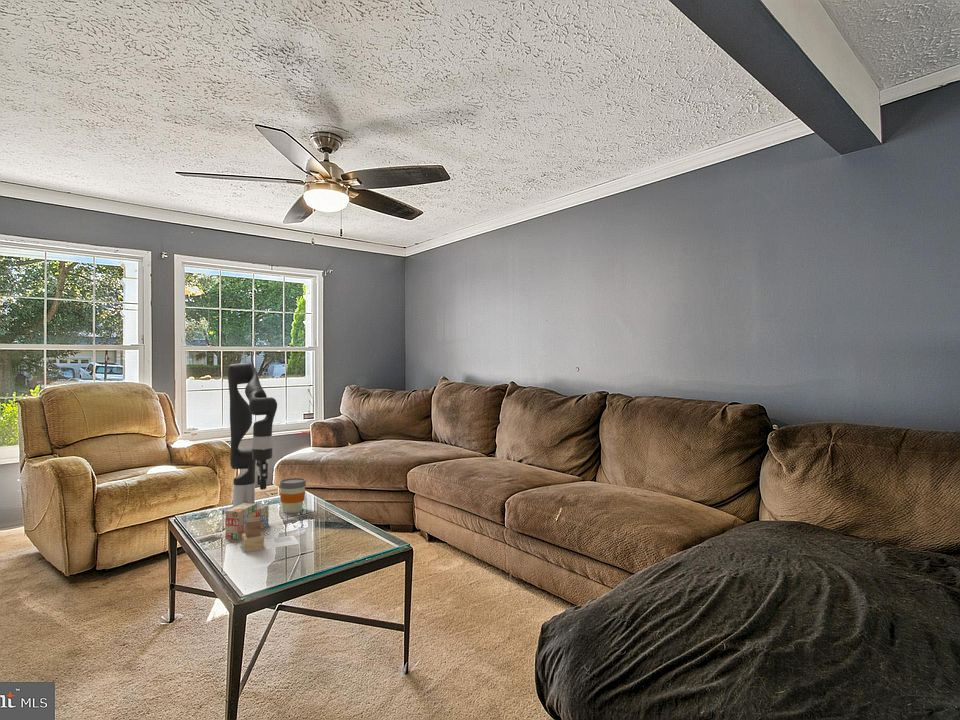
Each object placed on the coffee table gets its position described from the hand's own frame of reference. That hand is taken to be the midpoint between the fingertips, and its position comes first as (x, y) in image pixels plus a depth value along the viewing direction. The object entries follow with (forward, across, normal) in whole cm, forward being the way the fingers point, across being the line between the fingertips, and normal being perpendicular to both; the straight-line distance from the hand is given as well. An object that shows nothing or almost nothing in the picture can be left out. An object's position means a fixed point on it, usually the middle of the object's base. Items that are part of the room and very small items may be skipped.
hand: (261, 486), depth 205 cm
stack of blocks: (+24, -20, -3) cm, 31 cm away
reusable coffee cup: (+24, -46, +20) cm, 55 cm away
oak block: (+23, +4, -3) cm, 23 cm away
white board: (+23, +2, +3) cm, 24 cm away
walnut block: (+18, +4, -3) cm, 19 cm away
